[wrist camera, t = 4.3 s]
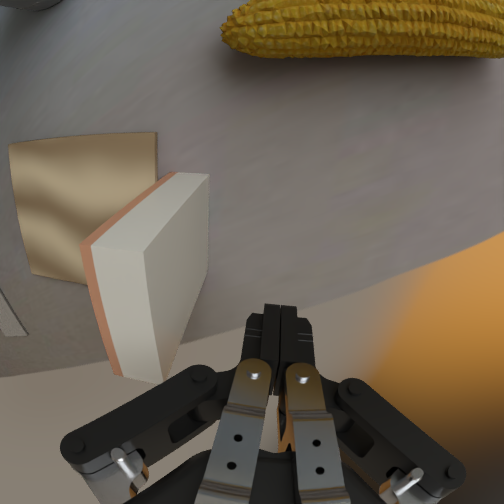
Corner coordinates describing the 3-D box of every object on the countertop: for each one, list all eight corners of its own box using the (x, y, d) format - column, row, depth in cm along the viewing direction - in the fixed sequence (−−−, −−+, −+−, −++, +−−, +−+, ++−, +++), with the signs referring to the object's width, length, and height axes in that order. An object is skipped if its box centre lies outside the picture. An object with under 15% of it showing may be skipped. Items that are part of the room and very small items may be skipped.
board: (11, 143, 21) (8, 144, 21) (157, 132, 20) (154, 133, 20) (34, 271, 28) (31, 273, 27) (164, 294, 27) (162, 297, 27)
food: (479, 0, 12) (520, -13, 7) (496, 62, 15) (543, 62, 9) (220, 17, 16) (198, -9, 11) (241, 88, 19) (227, 83, 14)
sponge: (170, 172, 22) (79, 244, 11) (209, 174, 22) (143, 252, 11) (173, 266, 26) (114, 374, 15) (208, 270, 25) (164, 386, 15)
